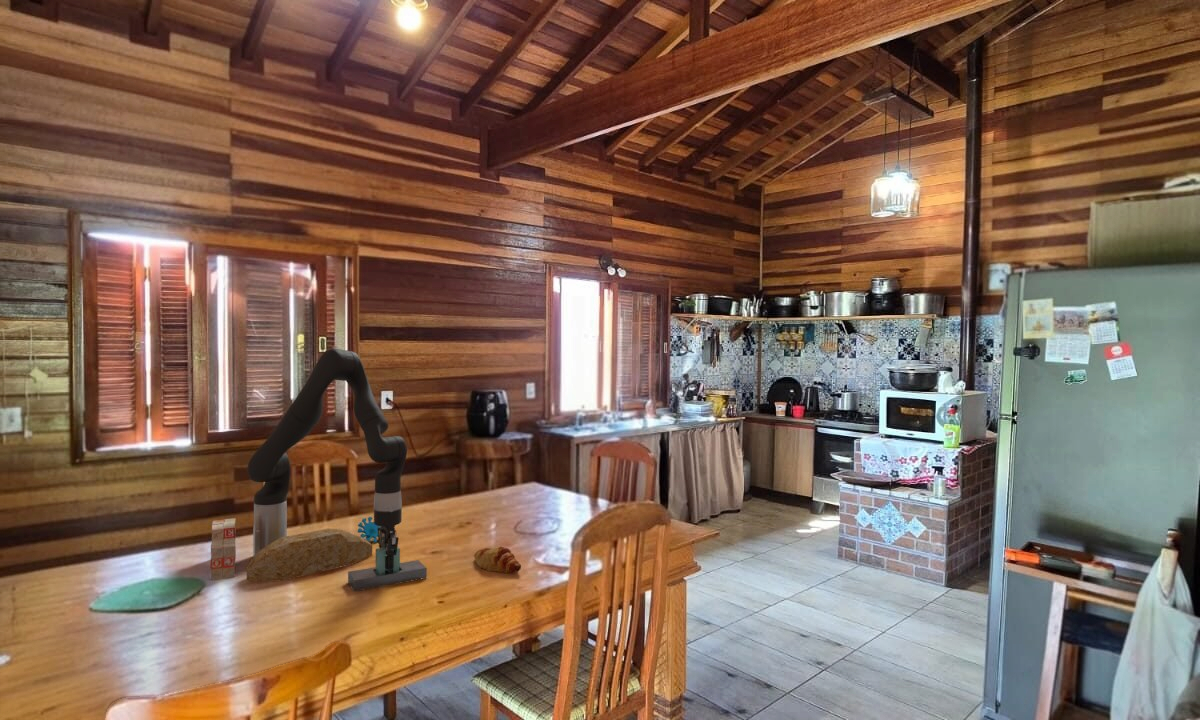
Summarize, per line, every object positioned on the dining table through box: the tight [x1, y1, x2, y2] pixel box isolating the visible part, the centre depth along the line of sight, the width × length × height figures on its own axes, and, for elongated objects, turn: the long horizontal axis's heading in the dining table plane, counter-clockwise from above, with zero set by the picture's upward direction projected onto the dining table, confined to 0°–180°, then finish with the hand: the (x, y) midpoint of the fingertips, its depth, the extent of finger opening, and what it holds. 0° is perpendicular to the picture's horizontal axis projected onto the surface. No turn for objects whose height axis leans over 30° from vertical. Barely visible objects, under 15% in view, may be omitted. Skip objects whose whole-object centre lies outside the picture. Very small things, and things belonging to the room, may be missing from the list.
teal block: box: [375, 546, 401, 575], centre depth 190 cm, size 6×3×8 cm, turn 122°
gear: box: [357, 516, 381, 544], centre depth 229 cm, size 11×6×10 cm
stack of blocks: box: [209, 517, 237, 581], centre depth 200 cm, size 21×6×12 cm, turn 28°
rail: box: [347, 559, 428, 592], centre depth 190 cm, size 20×8×3 cm, turn 122°
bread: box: [246, 528, 373, 584], centre depth 201 cm, size 36×11×10 cm, turn 135°
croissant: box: [473, 545, 522, 574], centre depth 203 cm, size 21×10×8 cm, turn 49°
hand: (387, 566), depth 190 cm, fingers closed on teal block, 3 cm apart
